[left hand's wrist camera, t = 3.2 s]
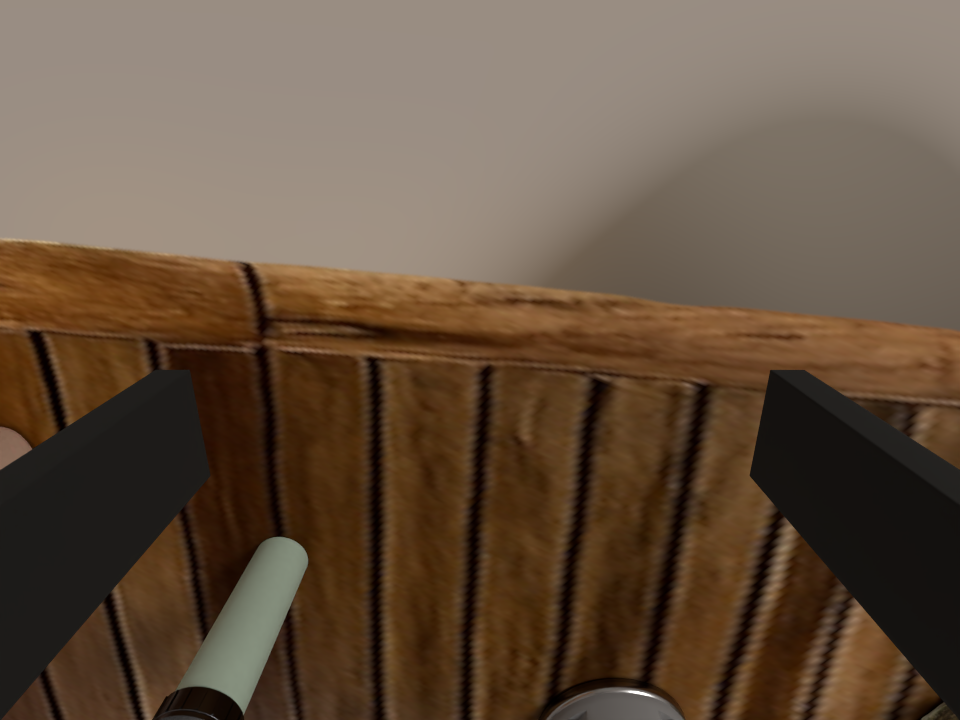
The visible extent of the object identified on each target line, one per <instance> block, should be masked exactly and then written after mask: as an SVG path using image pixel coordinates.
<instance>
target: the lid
mask: <svg viewBox="0 0 960 720" xmlns="http://www.w3.org/2000/svg"><path fill="white" fill-rule="evenodd" d="M152 720H244V715H243V712H242V710H241V708H240V707H239V705H238V704H237V703H236V702H235V701H234V700H233V699H232V698H231V697H229V696H228V695H226V694H224V693H222V692H220V691H218V690H215V689H212V688H207V687H196V686H194V687H186V688H182V689H179V690H176V691H175V692H173V693H171V694H170V695H169V696H168V697H167V696H166V697H165V699H164V701H163V703H162V704H161V706H160V707H159V709H158V711H157V713H156V714H155V716H154V718H153V719H152Z"/></svg>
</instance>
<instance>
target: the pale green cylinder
mask: <svg viewBox="0 0 960 720" xmlns="http://www.w3.org/2000/svg"><path fill="white" fill-rule="evenodd" d="M307 565H308V557H307V554H306V551H305V550H304V548H303V547H302V546H301V545H300V544H298V543H297V542H295V541H294V540H291V539H289V538H285V537H273V538H270V539H267V540H265V541H264V542H262V543H261V544H260V545H259V547H258V548H257V550H256V552H255V553H254V555H253V557H252V559H251V560H250V562H249V564H248V566H247V567H246V569H245V571H244V573H243V574H242V576H241V578H240V580H239V581H238V583H237V585H236V587H235V588H234V590H233V592H232V593H231V595H230V597H229V599H228V600H227V602H226V604H225V606H224V607H223V609H222V611H221V613H220V614H219V616H218V618H217V620H216V621H215V623H214V625H213V626H212V628H211V630H210V632H209V633H208V635H207V637H206V639H205V640H204V642H203V644H202V646H201V647H200V649H199V651H198V653H197V654H196V656H195V658H194V659H193V661H192V663H191V665H190V666H189V668H188V670H187V672H186V673H185V675H184V677H183V679H182V680H181V682H180V684H179V686H178V687H177V689H176V690H179V689H182V688H186V687H194V686H196V687H207V688H212V689H215V690H218V691H220V692H222V693H224V694H226V695H228V696H229V697H231V698H232V699H233V700H234V701H235V702H236V703H237V704H238V705H239V707H240V708H241V710H242V712H243V715H244V713H245V710H246V708H247V706H248V703H249V701H250V699H251V696H252V694H253V692H254V689H255V687H256V685H257V682H258V680H259V678H260V675H261V673H262V671H263V668H264V666H265V664H266V661H267V659H268V657H269V654H270V652H271V650H272V647H273V645H274V643H275V640H276V638H277V636H278V633H279V631H280V629H281V626H282V624H283V622H284V619H285V617H286V615H287V612H288V610H289V607H290V605H291V603H292V600H293V598H294V596H295V593H296V591H297V589H298V586H299V584H300V582H301V579H302V577H303V575H304V572H305V570H306V568H307Z"/></svg>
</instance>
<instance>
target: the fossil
mask: <svg viewBox="0 0 960 720" xmlns="http://www.w3.org/2000/svg"><path fill="white" fill-rule="evenodd" d="M921 720H959V719H958V718H957V717H956V715H955V714H954V713H953V712H952V711H951V710H950V708H949V707H948V706H947V705H946V704H945V703H942V704H940V705H939V706H938V707H937V708H935V709H934V710H933V711H932V712H930V713H929V714H927V715H926V716H924V717H923V718H922V719H921Z"/></svg>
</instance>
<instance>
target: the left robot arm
mask: <svg viewBox="0 0 960 720" xmlns="http://www.w3.org/2000/svg"><path fill="white" fill-rule="evenodd" d="M209 477H210V471H209V466H208V461H207V456H206V451H205V446H204V441H203V436H202V431H201V426H200V421H199V415H198V410H197V405H196V400H195V395H194V390H193V385H192V380H191V375H190V370H155V371H153V372H152V373H150V374H149V375H147V376H146V377H144V378H143V379H141V380H139V381H138V382H136V383H135V384H133V385H132V386H130V387H128V388H127V389H125V390H124V391H122V392H121V393H119V394H118V395H116V396H114V397H113V398H111V399H110V400H108V401H107V402H105V403H104V404H102V405H100V406H99V407H97V408H96V409H94V410H93V411H91V412H90V413H88V414H86V415H85V416H83V417H82V418H80V419H79V420H77V421H76V422H74V423H72V424H71V425H69V426H68V427H66V428H65V429H63V430H62V431H60V432H58V433H57V434H55V435H54V436H52V437H51V438H49V439H48V440H46V441H44V442H43V443H41V444H40V445H38V446H37V447H35V448H34V449H32V450H30V451H29V452H27V453H26V454H24V455H23V456H21V457H20V458H18V459H16V460H15V461H13V462H12V463H10V464H9V465H7V466H6V467H4V468H2V469H1V470H0V720H1V719H2V718H3V717H4V715H5V714H6V713H7V712H8V711H9V710H10V708H11V707H12V706H13V705H14V704H15V703H16V701H17V700H18V699H19V698H20V697H21V696H22V695H23V693H24V692H25V691H26V690H27V689H28V688H29V686H30V685H31V684H32V683H33V682H34V681H35V679H36V678H37V677H38V676H39V675H40V674H41V672H42V671H43V670H44V669H45V668H46V667H47V665H48V664H49V663H50V662H51V661H52V660H53V658H54V657H55V656H56V655H57V654H58V653H59V651H60V650H61V649H62V648H63V647H64V646H65V644H66V643H67V642H68V641H69V640H70V639H71V637H72V636H73V635H74V634H75V633H76V632H77V630H78V629H79V628H80V627H81V626H82V625H83V623H84V622H85V621H86V620H87V619H88V618H89V616H90V615H91V614H92V613H93V612H94V611H95V609H96V608H97V607H98V606H99V605H100V604H101V603H102V601H103V600H104V599H105V598H106V597H107V596H108V594H109V593H110V592H111V591H112V590H113V589H114V587H115V586H116V585H117V584H118V583H119V582H120V580H121V579H122V578H123V577H124V576H125V575H126V573H127V572H128V571H129V570H130V569H131V568H132V566H133V565H134V564H135V563H136V562H137V561H138V559H139V558H140V557H141V556H142V555H143V554H144V552H145V551H146V550H147V549H148V548H149V547H150V545H151V544H152V543H153V542H154V541H155V540H156V538H157V537H158V536H159V535H160V534H161V533H162V531H163V530H164V529H165V528H166V527H167V526H168V524H169V523H170V522H171V521H172V520H173V519H174V517H175V516H176V515H177V514H178V513H179V512H180V511H181V509H182V508H183V507H184V506H185V505H186V504H187V502H188V501H189V500H190V499H191V498H192V497H193V495H194V494H195V493H196V492H197V491H198V490H199V488H200V487H201V486H202V485H203V484H204V483H205V481H206V480H207V479H208V478H209ZM750 477H751V478H752V479H753V480H754V481H755V483H756V484H757V485H758V486H759V487H760V488H761V490H762V491H763V492H764V493H765V494H766V495H767V497H768V498H769V499H770V500H771V501H772V502H773V504H774V505H775V506H776V507H777V508H778V509H779V511H780V512H781V513H782V514H783V515H784V516H785V517H786V519H787V520H788V521H789V522H790V523H791V524H792V526H793V527H794V528H795V529H796V530H797V531H798V533H799V534H800V535H801V536H802V537H803V538H804V540H805V541H806V542H807V543H808V544H809V545H810V547H811V548H812V549H813V550H814V551H815V552H816V554H817V555H818V556H819V557H820V558H821V559H822V561H823V562H824V563H825V564H826V565H827V566H828V568H829V569H830V570H831V571H832V572H833V573H834V575H835V576H836V577H837V578H838V579H839V580H840V582H841V583H842V584H843V585H844V586H845V587H846V589H847V590H848V591H849V592H850V593H851V594H852V596H853V597H854V598H855V599H856V600H857V601H858V603H859V604H860V605H861V606H862V607H863V608H864V609H865V611H866V612H867V613H868V614H869V615H870V616H871V618H872V619H873V620H874V621H875V622H876V623H877V625H878V626H879V627H880V628H881V629H882V630H883V632H884V633H885V634H886V635H887V636H888V637H889V639H890V640H891V641H892V642H893V643H894V644H895V646H896V647H897V648H898V649H899V650H900V651H901V653H902V654H903V655H904V656H905V657H906V658H907V660H908V661H909V662H910V663H911V664H912V665H913V667H914V668H915V669H916V670H917V671H918V672H919V674H920V675H921V676H922V677H923V678H924V679H925V681H926V682H927V683H928V684H929V685H930V686H931V688H932V689H933V690H934V691H935V692H936V693H937V695H938V696H939V697H940V698H941V699H942V700H943V701H944V703H945V704H946V705H947V706H948V707H949V708H950V710H951V711H952V712H953V713H954V714H955V715H956V717H957V718H958V719H959V720H960V470H959V469H958V468H956V467H954V466H953V465H951V464H950V463H948V462H947V461H945V460H944V459H942V458H940V457H939V456H937V455H936V454H934V453H933V452H931V451H930V450H928V449H926V448H925V447H923V446H922V445H920V444H919V443H917V442H916V441H914V440H912V439H911V438H909V437H908V436H906V435H905V434H903V433H902V432H900V431H898V430H897V429H895V428H894V427H892V426H891V425H889V424H888V423H886V422H884V421H883V420H881V419H880V418H878V417H877V416H875V415H874V414H872V413H870V412H869V411H867V410H866V409H864V408H863V407H861V406H860V405H858V404H856V403H855V402H853V401H852V400H850V399H849V398H847V397H846V396H844V395H842V394H841V393H839V392H838V391H836V390H835V389H833V388H832V387H830V386H828V385H827V384H825V383H824V382H822V381H821V380H819V379H817V378H816V377H814V376H813V375H811V374H810V373H808V372H807V371H805V370H770V375H769V380H768V385H767V390H766V395H765V400H764V405H763V410H762V415H761V421H760V426H759V431H758V436H757V441H756V446H755V451H754V456H753V461H752V466H751V471H750ZM539 720H685V717H684V714H683V712H682V710H681V708H680V706H679V705H678V703H677V702H676V701H675V700H674V699H673V698H672V697H671V696H670V695H669V694H667V693H666V692H665V691H663V690H661V689H660V688H658V687H656V686H653V685H651V684H648V683H645V682H641V681H637V680H632V679H619V678H615V679H602V680H596V681H592V682H588V683H585V684H582V685H579V686H576V687H574V688H572V689H570V690H568V691H566V692H565V693H563V694H561V695H560V696H559V697H557V698H556V699H555V700H554V701H553V702H551V703H550V704H549V706H548V707H547V708H546V709H545V711H544V712H543V713H542V715H541V717H540V719H539Z"/></svg>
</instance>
